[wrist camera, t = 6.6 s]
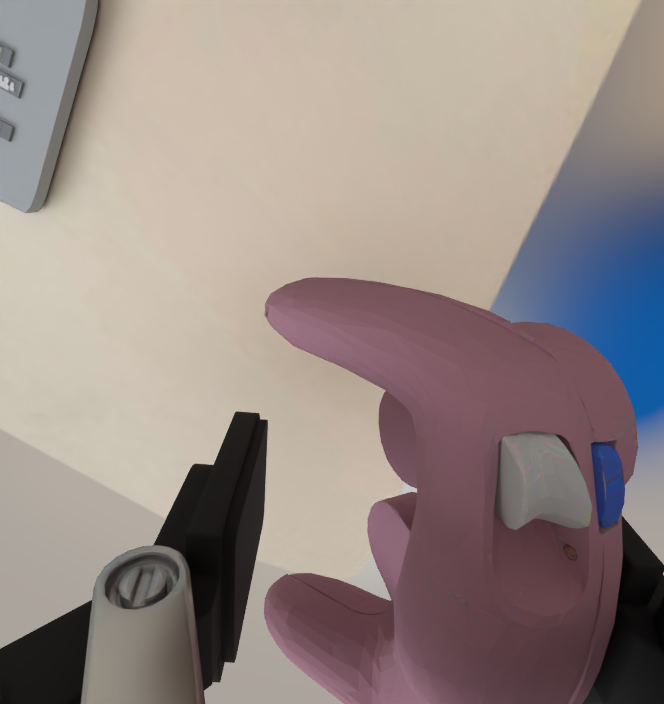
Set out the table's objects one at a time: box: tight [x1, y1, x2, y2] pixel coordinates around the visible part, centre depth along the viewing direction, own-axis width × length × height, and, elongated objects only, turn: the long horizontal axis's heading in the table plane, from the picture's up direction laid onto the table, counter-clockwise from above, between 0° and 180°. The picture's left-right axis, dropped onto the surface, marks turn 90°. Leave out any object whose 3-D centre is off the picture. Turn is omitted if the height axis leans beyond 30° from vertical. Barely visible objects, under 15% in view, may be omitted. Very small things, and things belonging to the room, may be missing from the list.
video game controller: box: [264, 278, 638, 704], centre depth 9 cm, size 10×5×7 cm, turn 177°
